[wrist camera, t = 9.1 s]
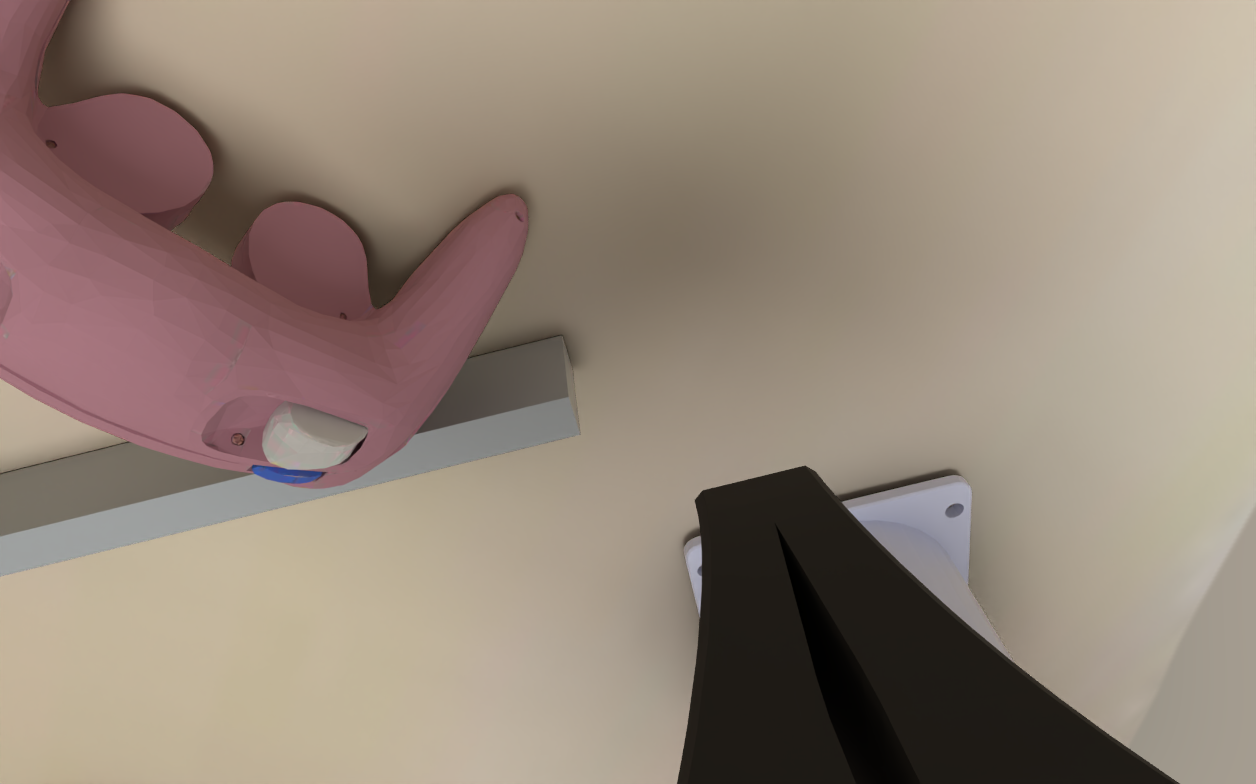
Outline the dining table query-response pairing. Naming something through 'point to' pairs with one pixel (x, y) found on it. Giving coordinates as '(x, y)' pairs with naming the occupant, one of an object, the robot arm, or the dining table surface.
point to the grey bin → (203, 495)
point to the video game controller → (213, 293)
